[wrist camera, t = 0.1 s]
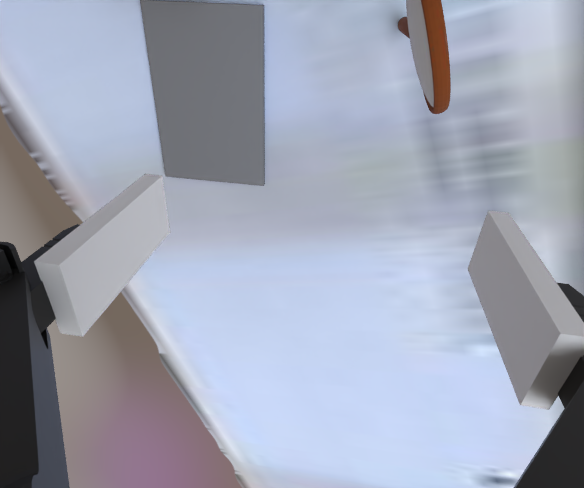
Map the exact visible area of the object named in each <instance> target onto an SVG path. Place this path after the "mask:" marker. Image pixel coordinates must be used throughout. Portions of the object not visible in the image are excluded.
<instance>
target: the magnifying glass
mask: <svg viewBox="0 0 584 488" xmlns="http://www.w3.org/2000/svg"><path fill="white" fill-rule="evenodd" d="M406 8H407V17H403V18H401V19H400V21H399V22H398V29H399V30H400V31H401V32H402V33H403V34H405V35H406V36H407V37H408V38H409V39H410V43H411V49H412V54H413V58H414V63H415V67H416V70H417V74H418V78H419V80H420V83H421V86H422V89H423V93H424V96H425V100H426V103H427V105H428V108H429V110H430V111H431V112H432V113H433V114H439V113H442V112H444V111H445V110H447V108H448V106H449V102H450V64H449V52H448V43H447V34H446V27H445V21H444V15H443V9H442V3H441V0H406Z"/></svg>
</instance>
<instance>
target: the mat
mask: <svg viewBox="0 0 584 488" xmlns="http://www.w3.org/2000/svg"><path fill="white" fill-rule="evenodd" d="M140 3H141V10H142V17H143V24H144V30H145V37H146V44H147V51H148V58H149V65H150V72H151V79H152V86H153V93H154V99H155V106H156V113H157V120H158V127H159V134H160V141H161V148H162V155H163V162H164V169H165V175H166V176H167V177H177V178H187V179H198V180H208V181H219V182H229V183H239V184H250V185H260V186H264V184H265V123H264V5H247V4H224V3H200V2H177V1H154V0H140Z"/></svg>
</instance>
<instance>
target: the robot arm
mask: <svg viewBox="0 0 584 488" xmlns="http://www.w3.org/2000/svg"><path fill="white" fill-rule="evenodd" d="M169 233H170V227H169V220H168V213H167V206H166V198H165V191H164V184H163V176H160V175H151V174H144V175H143V176H142V177H141V178H139V179H138V180H137V181H135V182H134V183H133V184H132V185H130V186H129V187H128V188H127V189H125V190H124V191H123V192H121V193H120V194H119V195H118V196H116V197H115V198H114V199H113V200H111V201H110V202H109V203H108V204H106V205H105V206H104V207H102V208H101V209H100V210H99V211H97V212H96V213H95V214H94V215H92V216H91V217H90V218H89V219H87V220H86V221H85V222H83V223H82V224H81V225H78V224H77V225H75V226H73V227H70V228H68V229H66V230H63V231H62V232H61V233H59V234H58V235H57V236H55V237H54V238H53V240H50V241H49V242H48V243H46V244H45V245H44V247H41V248H40V249H38V250H37V251H36V252H34V253H33V254H32V255H30V256H29V257H28V258H27V259H26V260H24V261H23V262H21V261H20V258H19V255H18V253H17V250H16V248H15V246H14V245H13V244H11V243H8V242H0V488H69V481H68V473H67V465H66V457H65V450H64V442H63V434H62V427H61V419H60V411H59V404H58V396H57V388H56V381H55V372H54V364H53V357H52V350H51V342H50V335H49V333H48V330H47V327H48V326H49V325H50V324H51V323H52V322H53V321H54V320H56V323H57V325H58V328H59V331H60V333H63V334H69V335H75V336H84V334H85V333H86V332H87V331H88V330H89V329H90V327H91V326H92V325H93V324H94V323H95V321H96V320H97V319H98V318H99V317H100V315H101V314H102V313H103V312H104V311H105V309H106V308H107V307H108V306H109V305H110V304H111V302H112V301H113V300H114V299H115V298H116V296H117V295H118V294H119V293H120V292H121V290H122V289H123V288H124V287H125V286H126V284H127V283H128V282H129V281H130V280H131V279H132V277H133V276H134V275H135V274H136V273H137V271H138V270H139V269H140V268H141V267H142V265H143V264H144V263H145V262H146V261H147V259H148V258H149V257H150V256H151V255H152V253H153V252H154V251H155V250H156V249H157V248H158V246H159V245H160V244H161V243H162V242H163V240H164V239H165V238H166V237H167V236H168V234H169ZM468 271H469V274H470V276H471V279H472V282H473V284H474V287H475V289H476V292H477V294H478V297H479V300H480V302H481V305H482V307H483V310H484V313H485V315H486V318H487V320H488V323H489V326H490V328H491V331H492V333H493V336H494V339H495V341H496V344H497V346H498V349H499V351H500V354H501V357H502V359H503V362H504V364H505V367H506V370H507V372H508V375H509V377H510V380H511V383H512V385H513V388H514V390H515V393H516V396H517V398H518V401H519V403H520V405H522V406H529V407H535V408H542V409H548V410H549V409H550V408H551V406H552V404H553V403H554V401H555V400H556V398H557V397H558V396H559V398H560V400H561V402H562V404H563V406H564V408H565V409H564V411H563V412H562V414H561V415H560V417H559V418H558V420H557V421H556V423H555V424H554V426H553V427H552V429H551V430H550V432H549V434H548V435H547V437H546V438H545V440H544V441H543V443H542V445H541V446H540V448H539V449H538V451H537V452H536V454H535V455H534V457H533V459H532V460H531V462H530V463H529V465H528V466H527V468H526V469H525V471H524V473H523V474H522V476H521V477H520V479H519V480H518V482H517V483H516V485H515V487H514V488H584V296H583V295H582V294H581V293H579V292H578V291H577V290H575V289H574V288H573V287H571V286H570V285H569V284H563V283H556V281H555V280H554V278H553V277H552V275H551V274H550V272H549V271H548V269H547V268H546V266H545V265H544V264H543V262H542V261H541V259H540V258H539V256H538V255H537V253H536V252H535V250H534V249H533V247H532V246H531V245H530V243H529V242H528V240H527V239H526V237H525V236H524V234H523V233H522V231H521V230H520V228H519V227H518V225H517V224H516V223H515V221H514V220H513V218H512V217H511V215H510V214H509V213H506V212H496V211H488V212H487V215H486V218H485V221H484V224H483V226H482V229H481V232H480V235H479V238H478V241H477V244H476V246H475V249H474V252H473V255H472V258H471V261H470V264H469V267H468Z"/></svg>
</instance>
